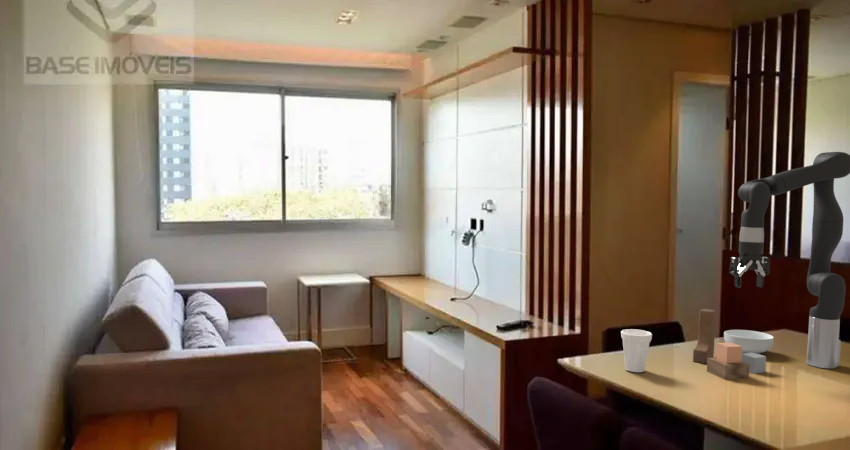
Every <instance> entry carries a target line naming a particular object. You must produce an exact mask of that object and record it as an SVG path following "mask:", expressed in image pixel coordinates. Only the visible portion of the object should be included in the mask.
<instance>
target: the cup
mask: <svg viewBox="0 0 850 450" xmlns="http://www.w3.org/2000/svg"><path fill="white" fill-rule="evenodd" d="M620 335H621V336H620V337H621V339H622V347H623V348H622V349H623V358H624V369H625V370H626V371H628V372H633V373H644V372H645V369H646V363H647V358H648V352H649V348H650V347H649V346H650V344H651V341H652V338H653V334H652V332H650V331H648V330H647V331H646V330H644V329H643V330H642V329H636V328H635V329H634V328H630V329H629V328H628V329H627V328H626V329H622V330H621V331H620Z"/></svg>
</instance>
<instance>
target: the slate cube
mask: <svg viewBox="0 0 850 450" xmlns="http://www.w3.org/2000/svg"><path fill="white" fill-rule="evenodd" d="M742 361H743V362H745V363H748V364H749V374H754V375H755V374H762V373H766V365H767V356H766V355H762V354H756V353H752V352H750V353H744V354H742Z"/></svg>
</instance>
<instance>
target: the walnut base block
mask: <svg viewBox="0 0 850 450" xmlns="http://www.w3.org/2000/svg"><path fill="white" fill-rule="evenodd" d="M706 372H707V373H709V374H711V375H714V376H716V377H718V378H720V379H723V380H740V379H742V380H743V379H750V378H749V375H750V372H749V364H748V363H745V362H743V361H741V363H724V362H722V361H719V360H717V359H716V356H715V357H714V358H707V363H706Z"/></svg>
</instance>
